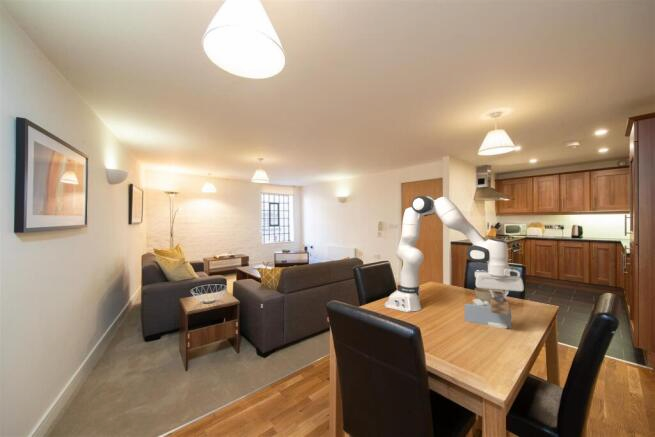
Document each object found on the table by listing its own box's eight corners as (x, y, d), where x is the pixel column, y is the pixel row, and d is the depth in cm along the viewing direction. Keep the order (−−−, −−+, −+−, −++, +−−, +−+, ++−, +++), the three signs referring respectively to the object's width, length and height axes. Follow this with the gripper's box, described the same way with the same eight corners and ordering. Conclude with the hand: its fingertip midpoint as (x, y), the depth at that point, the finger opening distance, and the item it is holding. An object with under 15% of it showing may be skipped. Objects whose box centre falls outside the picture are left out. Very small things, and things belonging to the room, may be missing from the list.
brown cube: (491, 312, 128) (491, 294, 128) (490, 307, 134) (489, 290, 134) (508, 314, 125) (508, 296, 124) (506, 309, 131) (505, 292, 131)
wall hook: (501, 317, 143) (496, 300, 144) (481, 320, 145) (477, 303, 146) (495, 312, 151) (490, 295, 152) (476, 315, 153) (472, 299, 154)
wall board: (464, 322, 139) (464, 305, 139) (464, 319, 143) (464, 303, 143) (511, 329, 130) (511, 311, 130) (510, 326, 133) (510, 309, 133)
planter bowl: (509, 308, 159) (509, 290, 159) (498, 314, 150) (497, 295, 150) (482, 301, 172) (482, 285, 172) (470, 306, 163) (469, 289, 163)
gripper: (474, 270, 131) (475, 297, 131) (524, 273, 121) (525, 302, 122) (474, 268, 137) (474, 294, 137) (521, 270, 127) (522, 298, 127)
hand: (498, 298), depth 129 cm, fingers closed on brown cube, 3 cm apart
